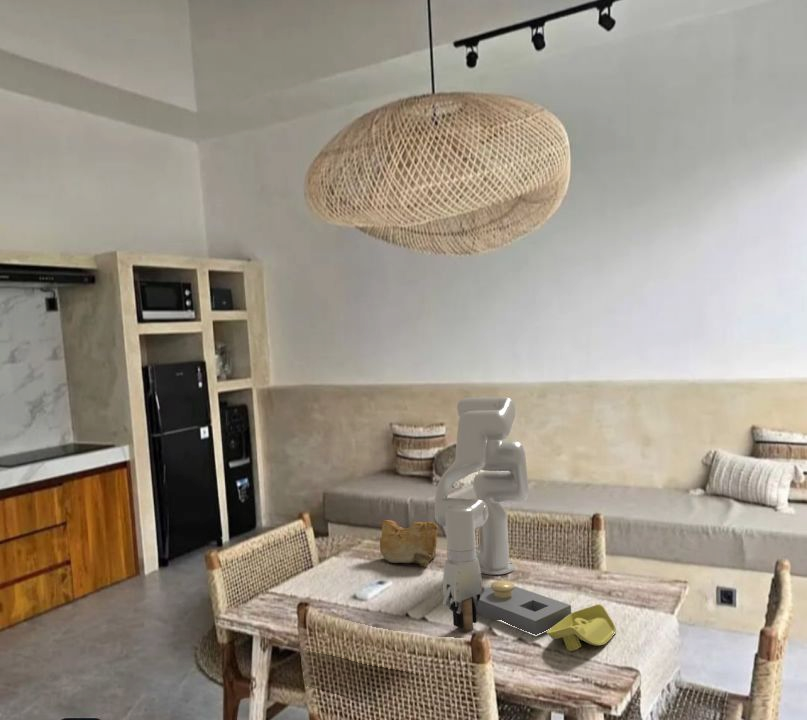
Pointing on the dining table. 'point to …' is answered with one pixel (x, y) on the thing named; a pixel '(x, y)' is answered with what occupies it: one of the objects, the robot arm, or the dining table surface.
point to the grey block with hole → (521, 607)
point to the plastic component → (584, 627)
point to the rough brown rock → (409, 542)
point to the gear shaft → (467, 615)
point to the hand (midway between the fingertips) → (465, 623)
